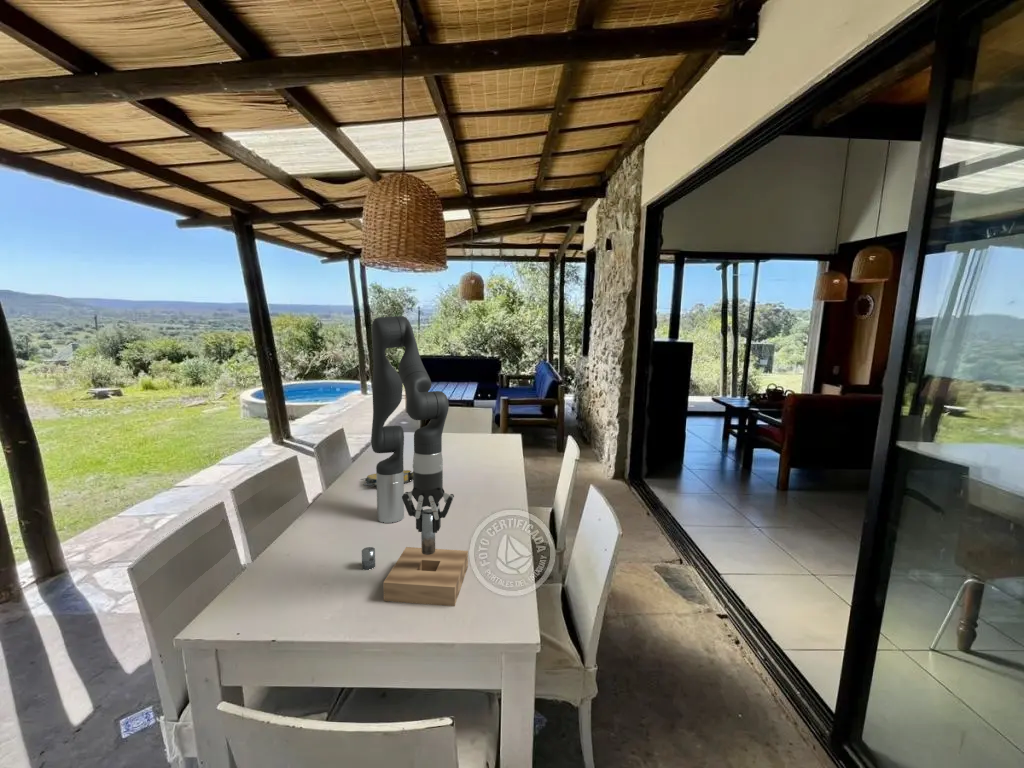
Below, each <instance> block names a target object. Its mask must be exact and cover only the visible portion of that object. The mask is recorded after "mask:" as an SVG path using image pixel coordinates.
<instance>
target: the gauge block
mask: <svg viewBox="0 0 1024 768" xmlns="http://www.w3.org/2000/svg"><path fill="white" fill-rule="evenodd" d="M468 564H469V550H463V549H462V550H461V549H460V550H459V549H445V548H444V549H443V548H435V553H433V554H430V555H425V554H422V550H421V547H414V546H413V547H412V546H411V547H410V546H409V547H408V546H406V547H404V550H403V551H402V553H401V555H400V556H399V557H398V559H397V561H396V562H395V564H394V565H393V567H392V568H391V570H390V571H389V573H388V575H387V576H386V578H385V579H384V580H383V583H382V584H383V602H389V601H393V602H392V603H403V602H405V603H406V604H416V605H417V604H418V605H419V604H420V605H430V606H431V605H432V606H433V605H434V606H447V607H455V606H456V603H457V600H458V598H459V594H460V591H461V588H462V586H463V583H464V580H465V577H466V573H467V571H468V568H469V565H468Z"/></svg>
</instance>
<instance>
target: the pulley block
mask: <svg viewBox="0 0 1024 768" xmlns="http://www.w3.org/2000/svg"><path fill="white" fill-rule="evenodd" d="M403 472H404V483H410V482H411V481H413V471H412V470H408V469H406V470H403ZM360 480H361V481H362V480H365V483H364V484H363V486H369V487H377V479H376V473H372V474H369V475H367V476H366V478H361V479H360ZM410 480H411V481H410Z"/></svg>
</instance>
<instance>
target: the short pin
mask: <svg viewBox="0 0 1024 768" xmlns="http://www.w3.org/2000/svg"><path fill="white" fill-rule="evenodd" d="M374 567H375V568H376V549H375V548H374V547H373V546H368V547H364V548H363V549H362V550H361V568H362V570H363V569H364V571H370V570H369V569H371V570H373V569H375V568H374ZM372 568H373V569H372Z"/></svg>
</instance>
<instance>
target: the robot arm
mask: <svg viewBox="0 0 1024 768" xmlns="http://www.w3.org/2000/svg"><path fill="white" fill-rule="evenodd" d="M371 342H372V357H373V358H372V359H373V372H372V375H373V377H372V424H371V436H370V442H371V445H370V446H371V449H372V451H373V452H374V453H375V454H389V453H392V454H391V455H390V456H389V457H387V458H386V459H383V460H380V461H379V462H378V463H377V464H376V466H375V467H376V468H375V471H376V473H375V474H376V479H377V486H376V506H377V507H376V510H377V511H376V513H377V515H376V517H377V521H378V522H380V523H383V522H384V524H392V522H393V523H397V521H398V522H400V521H402V520H403V519H404V518H405V509H406V511H407V514H408V516H409V517H414V519H415V529H416V530H417V532H418V533H421V511H423V510H424V508H425V507H429V508H430V509H432V512H433V514H434V518H435V519H434V533H435V534H437V533H438V532H439V531H440V529H441V525H442V524H441V523H442V521H441V519H444V518H446V516H447V515H448V513H449V510H450V508H451V505H452V503H453V500H454V498H455V495H454V494H453V493H451V494H449V493H447V492H445V490H444V487H443V484H444V481H443V477H444V476H443V475H444V473H443V468H444V467H443V465H444V463H443V451H442V448H443V447H442V446H443V443H442V442H443V441H442V439H443V437H442V436H443V431H444V427H445V423H446V420H447V416H448V413H449V408H450V407H449V406H450V404H449V403H450V402H449V398H448V397H447V395H446V393H445V392H443V391H442V390H432V391H431V387H432V381H431V378H430V375H429V374H428V372H427V369H426V368H425V366H424V364H423V361H422V358H421V355H420V351H419V348H418V343H417V341H416V337H415V333H414V331H413V328H412V325H411V321H409V319H408V317H406V316H402V315H401V316H400V315H399V316H383V317H382V316H381V317H376V318H374V319H373V321H372V325H371ZM403 347H404V348H405V349H404V352H403V354H402V357H401V359H400V361H399V364H398V371H397V370H396V369H395V368H394V366H393V365H392V364H391V362H390V361H389V359H388V357H387V355H386V350H388V349H397V348H403ZM403 387H404V391H405V396H406V398H405V399H406V408H405V409H406V412H407V415H408V416H409V418H411V419H412V420H414V421H424V420H429V422H428V424H427V425H424V426H422V427H419V428H417V429H416V430H415V431H414V433H413V460H412V472H413V479H412V481H413V482H412V484H413V485H412V490H410V491H405V484H404V472H403V470H404V449H405V447H404V445H405V432H404V428H403V427H402V426H401V425H386V426H385V423H386V422H387V420H388V419H389V417H390V416H391V415H392V414H393V413H394V412H395V410H396V409H398V407H399V406H400V404H401V402H402V399H403ZM413 498H414V500H415V501H416V503H417V504H416V505H417V506H416V508H415V504H414V502H413ZM442 498H443V503H445V505H444V507H443V510H441V507H440V501H441V499H442Z"/></svg>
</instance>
